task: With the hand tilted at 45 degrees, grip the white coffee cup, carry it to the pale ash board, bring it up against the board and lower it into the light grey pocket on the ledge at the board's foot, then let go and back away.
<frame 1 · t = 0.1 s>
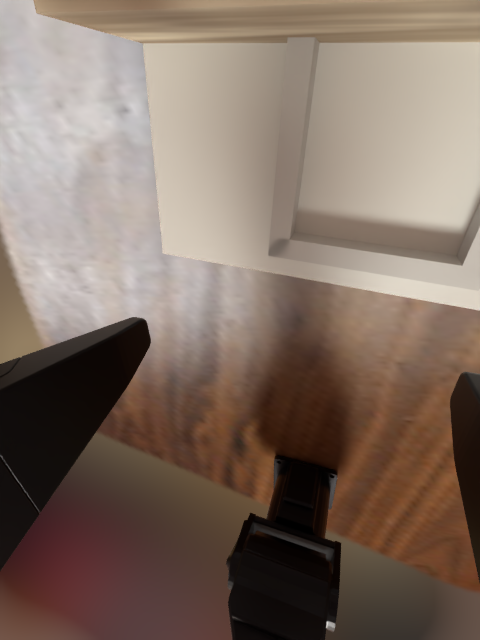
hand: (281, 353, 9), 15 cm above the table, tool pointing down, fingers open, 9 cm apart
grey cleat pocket: (392, 153, 18), on the table
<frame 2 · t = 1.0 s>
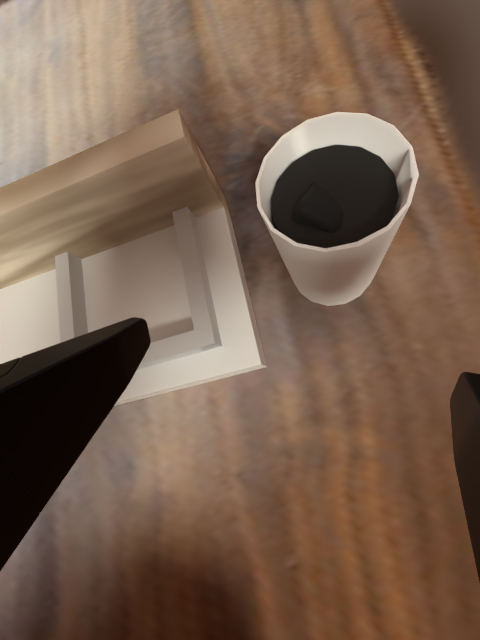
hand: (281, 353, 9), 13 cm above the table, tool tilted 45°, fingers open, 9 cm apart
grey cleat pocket: (150, 300, 27), on the table
white coffee cup: (331, 267, 24), on the table
ash wall board: (73, 227, 25), on the table
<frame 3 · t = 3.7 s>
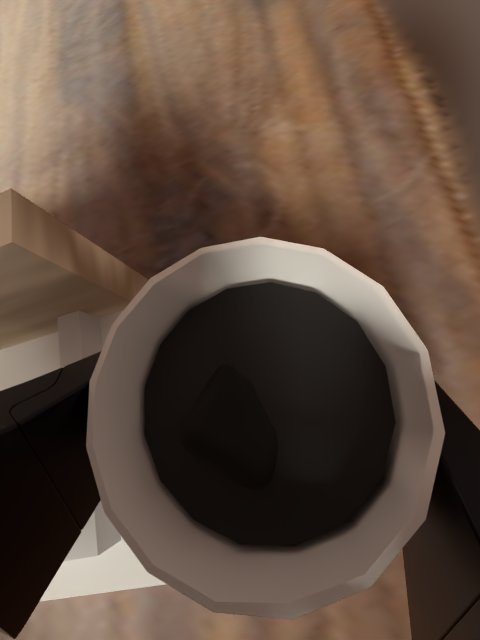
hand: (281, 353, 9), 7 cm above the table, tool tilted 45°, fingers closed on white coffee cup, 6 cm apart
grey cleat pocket: (43, 428, 19), on the table
white coffee cup: (295, 401, 16), on the table, touching gripper
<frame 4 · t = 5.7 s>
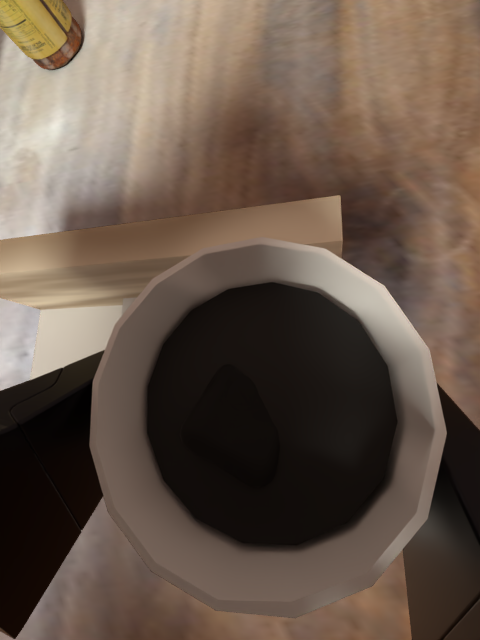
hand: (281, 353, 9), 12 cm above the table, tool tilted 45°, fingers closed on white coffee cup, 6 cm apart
sauce bottle: (61, 52, 35), on the table
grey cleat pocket: (219, 370, 23), on the table
white coffee cup: (298, 401, 16), point 5 cm above the table, touching gripper
ash wall board: (153, 275, 20), on the table
when the fingers open (9 cm above the table, at t = 8.0 s): white coffee cup stays where it is, resting on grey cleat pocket.
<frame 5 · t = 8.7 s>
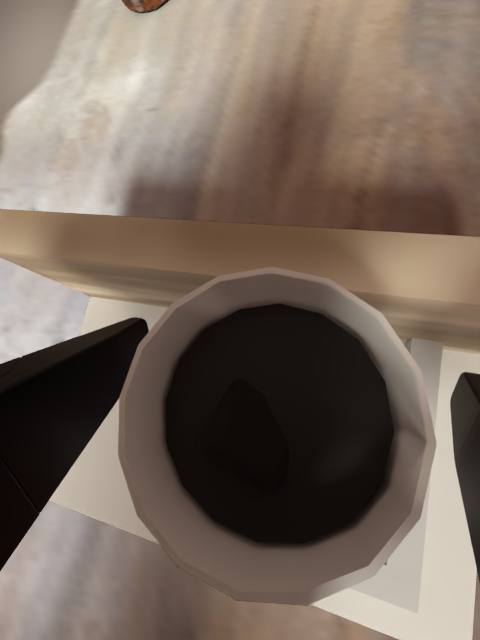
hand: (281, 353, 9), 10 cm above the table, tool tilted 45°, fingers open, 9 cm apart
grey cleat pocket: (298, 415, 18), on the table
white coffee cup: (299, 406, 16), point 2 cm above the table, touching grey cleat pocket
ash wall board: (246, 288, 16), on the table
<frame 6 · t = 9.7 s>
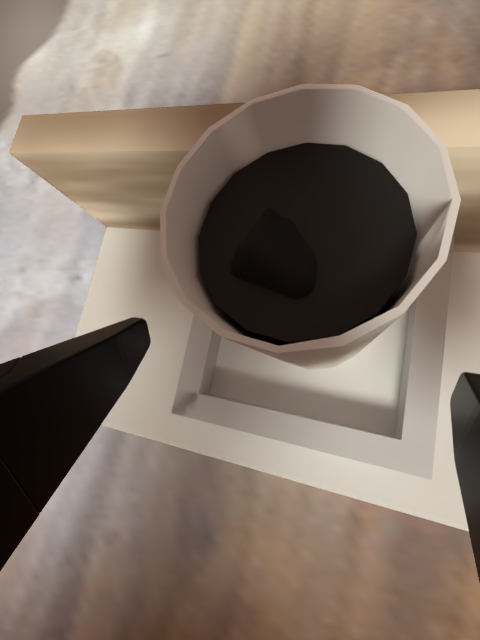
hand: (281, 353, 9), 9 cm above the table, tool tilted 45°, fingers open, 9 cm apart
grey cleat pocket: (311, 331, 19), on the table
white coffee cup: (314, 314, 17), point 2 cm above the table, touching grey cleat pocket
ash wall board: (263, 196, 16), on the table
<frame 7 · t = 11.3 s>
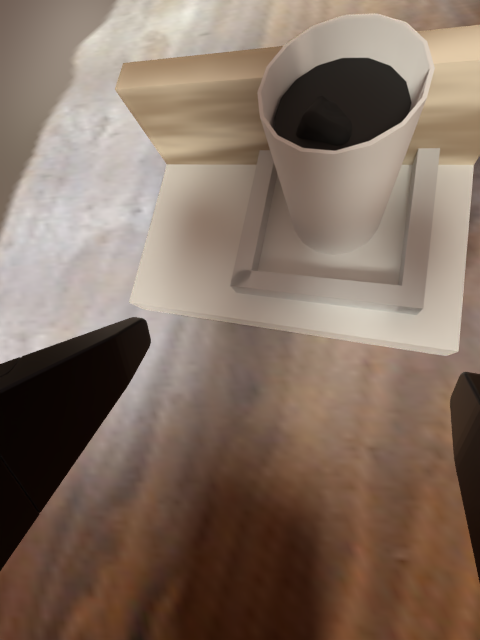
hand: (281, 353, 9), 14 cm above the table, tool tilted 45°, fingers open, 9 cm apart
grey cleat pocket: (332, 236, 24), on the table
white coffee cup: (335, 216, 22), point 2 cm above the table, touching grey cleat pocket
ash wall board: (298, 126, 22), on the table
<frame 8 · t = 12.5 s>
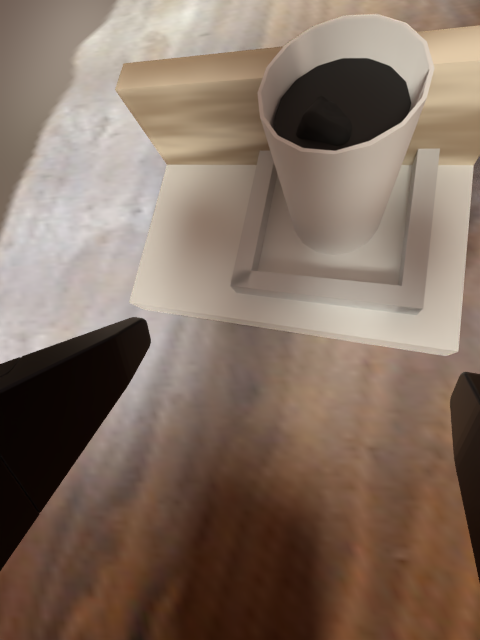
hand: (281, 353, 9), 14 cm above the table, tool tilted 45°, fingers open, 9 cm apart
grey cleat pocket: (332, 236, 24), on the table
white coffee cup: (335, 217, 23), point 2 cm above the table, touching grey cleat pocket
ash wall board: (298, 126, 22), on the table
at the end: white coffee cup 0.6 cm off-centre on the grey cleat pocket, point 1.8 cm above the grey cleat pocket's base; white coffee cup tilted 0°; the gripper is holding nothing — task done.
